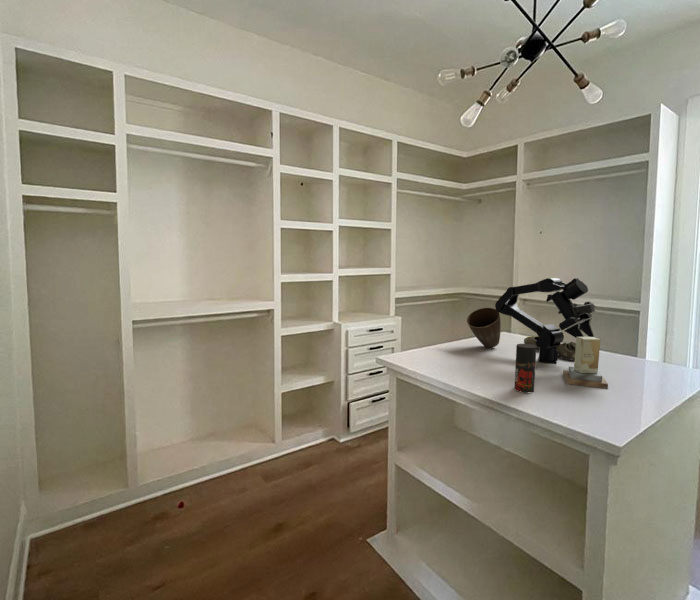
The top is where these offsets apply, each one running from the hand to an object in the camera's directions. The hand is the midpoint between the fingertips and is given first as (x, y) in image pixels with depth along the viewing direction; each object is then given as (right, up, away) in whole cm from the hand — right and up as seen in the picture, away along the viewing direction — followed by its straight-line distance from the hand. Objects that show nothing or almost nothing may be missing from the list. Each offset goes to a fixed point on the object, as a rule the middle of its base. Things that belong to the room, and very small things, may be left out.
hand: (588, 339), depth 153 cm
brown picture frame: (-10, -13, -13) cm, 21 cm away
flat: (0, -9, +29) cm, 30 cm away
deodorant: (-35, -15, -22) cm, 44 cm away
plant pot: (-24, -6, +38) cm, 45 cm away
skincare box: (-10, -10, -14) cm, 20 cm away
